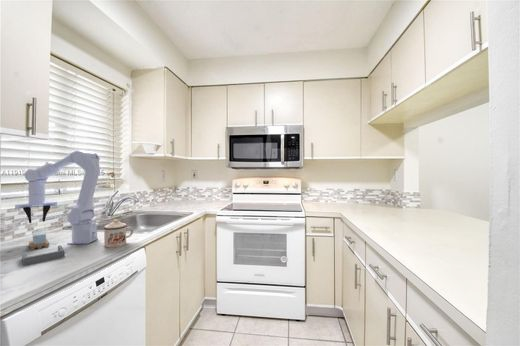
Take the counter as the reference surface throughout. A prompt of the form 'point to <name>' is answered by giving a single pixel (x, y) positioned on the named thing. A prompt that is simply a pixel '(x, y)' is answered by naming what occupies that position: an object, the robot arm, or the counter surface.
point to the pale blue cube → (39, 238)
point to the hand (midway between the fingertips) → (37, 222)
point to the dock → (43, 256)
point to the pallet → (38, 245)
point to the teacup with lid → (115, 234)
